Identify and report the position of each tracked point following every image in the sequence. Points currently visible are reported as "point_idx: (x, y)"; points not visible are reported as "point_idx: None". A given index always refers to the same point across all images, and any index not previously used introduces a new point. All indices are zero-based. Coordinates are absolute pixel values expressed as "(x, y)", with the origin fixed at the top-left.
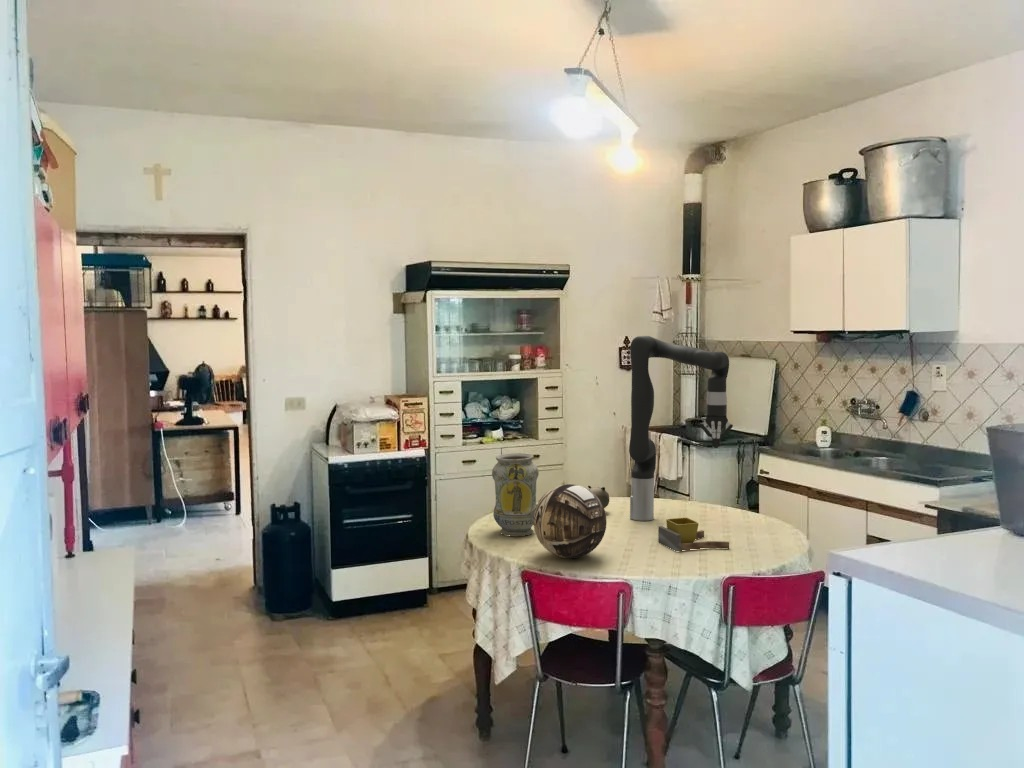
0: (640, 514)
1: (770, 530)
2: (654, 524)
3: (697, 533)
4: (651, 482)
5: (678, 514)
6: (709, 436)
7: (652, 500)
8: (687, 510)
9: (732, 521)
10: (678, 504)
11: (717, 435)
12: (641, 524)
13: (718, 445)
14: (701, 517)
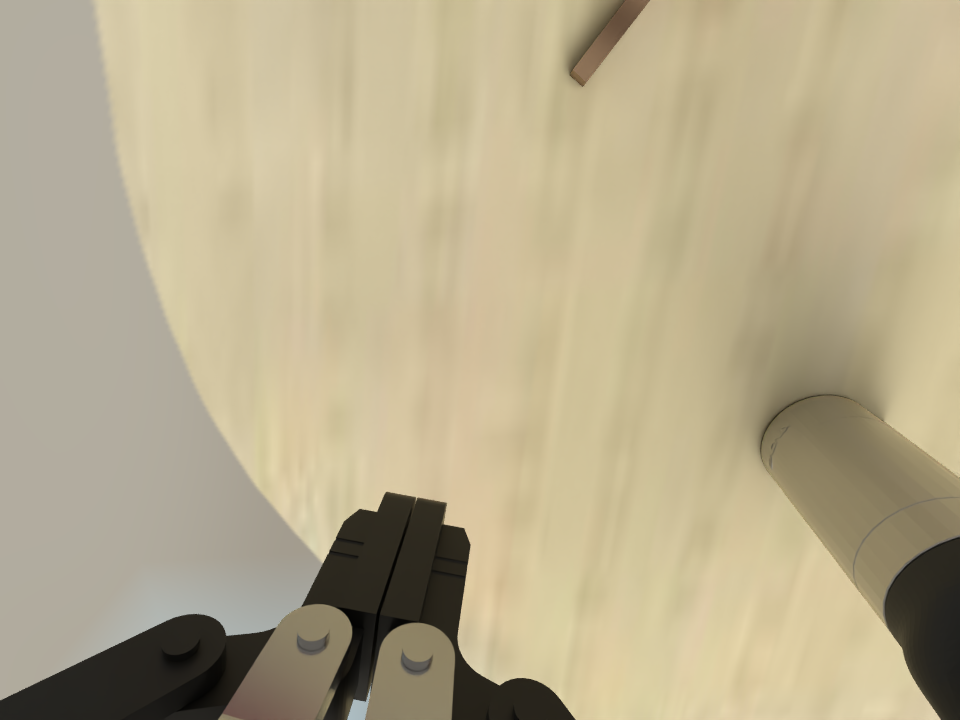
0: (857, 410)
1: (241, 272)
2: (781, 335)
3: (618, 9)
4: (901, 534)
5: (625, 528)
6: (520, 682)
7: (821, 471)
8: (574, 594)
9: (401, 423)
10: (597, 682)
11: (320, 672)
12: (851, 328)
13: (366, 523)
14: (530, 483)
